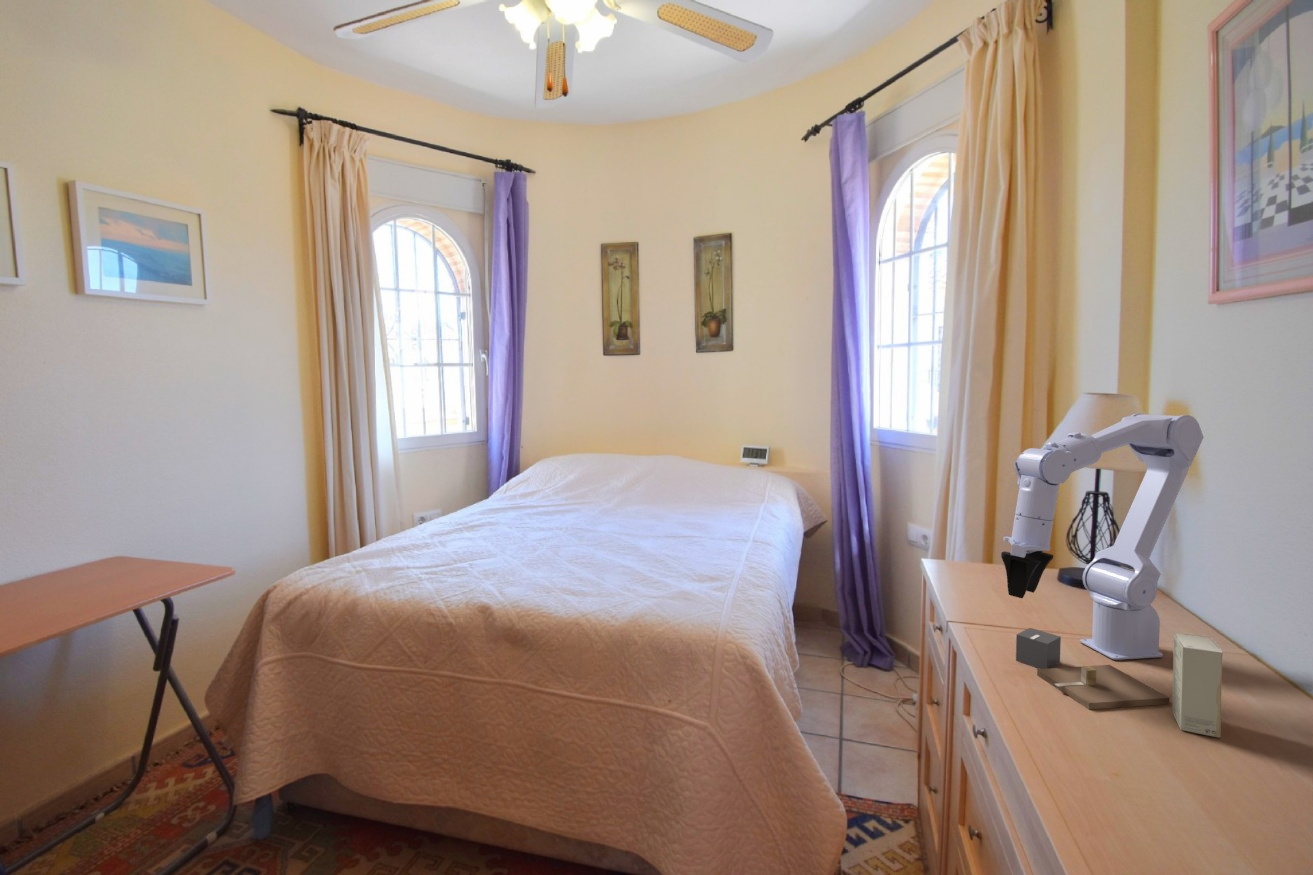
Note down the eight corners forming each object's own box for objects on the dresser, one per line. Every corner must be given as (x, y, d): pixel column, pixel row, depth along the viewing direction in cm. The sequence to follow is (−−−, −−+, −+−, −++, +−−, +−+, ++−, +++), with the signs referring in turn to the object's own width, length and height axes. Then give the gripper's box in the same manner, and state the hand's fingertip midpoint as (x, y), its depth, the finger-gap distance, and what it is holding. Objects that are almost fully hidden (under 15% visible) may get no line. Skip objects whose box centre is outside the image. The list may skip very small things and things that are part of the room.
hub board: (1109, 670, 102) (1110, 650, 101) (1169, 703, 91) (1170, 681, 90) (1032, 675, 101) (1032, 655, 100) (1083, 709, 90) (1084, 687, 89)
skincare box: (1221, 739, 82) (1225, 653, 81) (1178, 730, 84) (1182, 646, 83) (1209, 717, 87) (1213, 636, 86) (1169, 709, 89) (1173, 630, 88)
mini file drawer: (1029, 653, 109) (1029, 627, 109) (1059, 662, 105) (1060, 635, 104) (1015, 660, 106) (1016, 633, 106) (1046, 671, 102) (1047, 643, 102)
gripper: (1019, 511, 112) (1007, 581, 112) (996, 513, 101) (984, 591, 102) (1063, 519, 107) (1051, 593, 107) (1044, 523, 96) (1031, 604, 97)
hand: (1021, 593), depth 104 cm, fingers open, 7 cm apart
